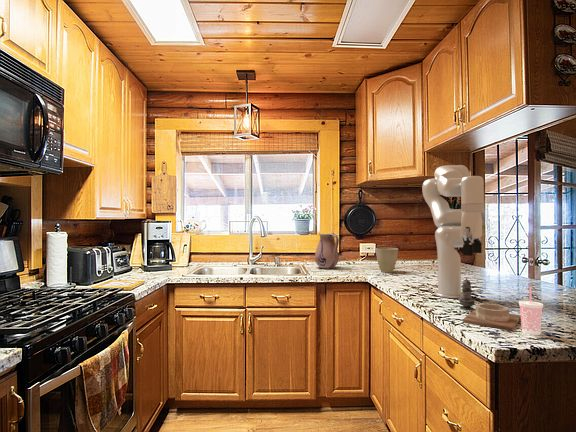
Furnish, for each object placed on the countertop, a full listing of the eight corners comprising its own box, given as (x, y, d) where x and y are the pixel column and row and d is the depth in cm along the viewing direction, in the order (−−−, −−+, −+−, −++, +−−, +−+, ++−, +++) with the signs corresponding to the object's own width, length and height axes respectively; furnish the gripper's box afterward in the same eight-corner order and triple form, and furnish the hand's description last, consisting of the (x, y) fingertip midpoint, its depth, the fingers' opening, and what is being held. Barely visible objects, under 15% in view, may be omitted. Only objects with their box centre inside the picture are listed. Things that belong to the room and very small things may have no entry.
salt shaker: (470, 306, 133) (469, 276, 133) (479, 310, 127) (478, 279, 128) (455, 306, 133) (455, 276, 133) (463, 310, 127) (463, 279, 127)
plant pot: (377, 273, 218) (377, 249, 219) (374, 270, 233) (373, 247, 233) (400, 274, 217) (400, 249, 217) (396, 270, 231) (395, 247, 232)
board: (475, 311, 126) (475, 299, 126) (520, 318, 117) (520, 305, 117) (462, 322, 113) (462, 308, 113) (512, 331, 104) (512, 316, 104)
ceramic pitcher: (325, 265, 259) (325, 233, 259) (347, 268, 243) (347, 234, 244) (309, 268, 247) (309, 234, 248) (332, 271, 232) (331, 234, 232)
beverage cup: (514, 329, 105) (513, 284, 105) (532, 329, 105) (531, 284, 106) (530, 336, 99) (529, 288, 99) (549, 335, 99) (548, 288, 100)
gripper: (469, 209, 136) (469, 251, 136) (453, 209, 124) (453, 255, 124) (490, 208, 130) (490, 252, 130) (475, 208, 118) (475, 257, 118)
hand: (472, 254), depth 127 cm, fingers open, 9 cm apart
